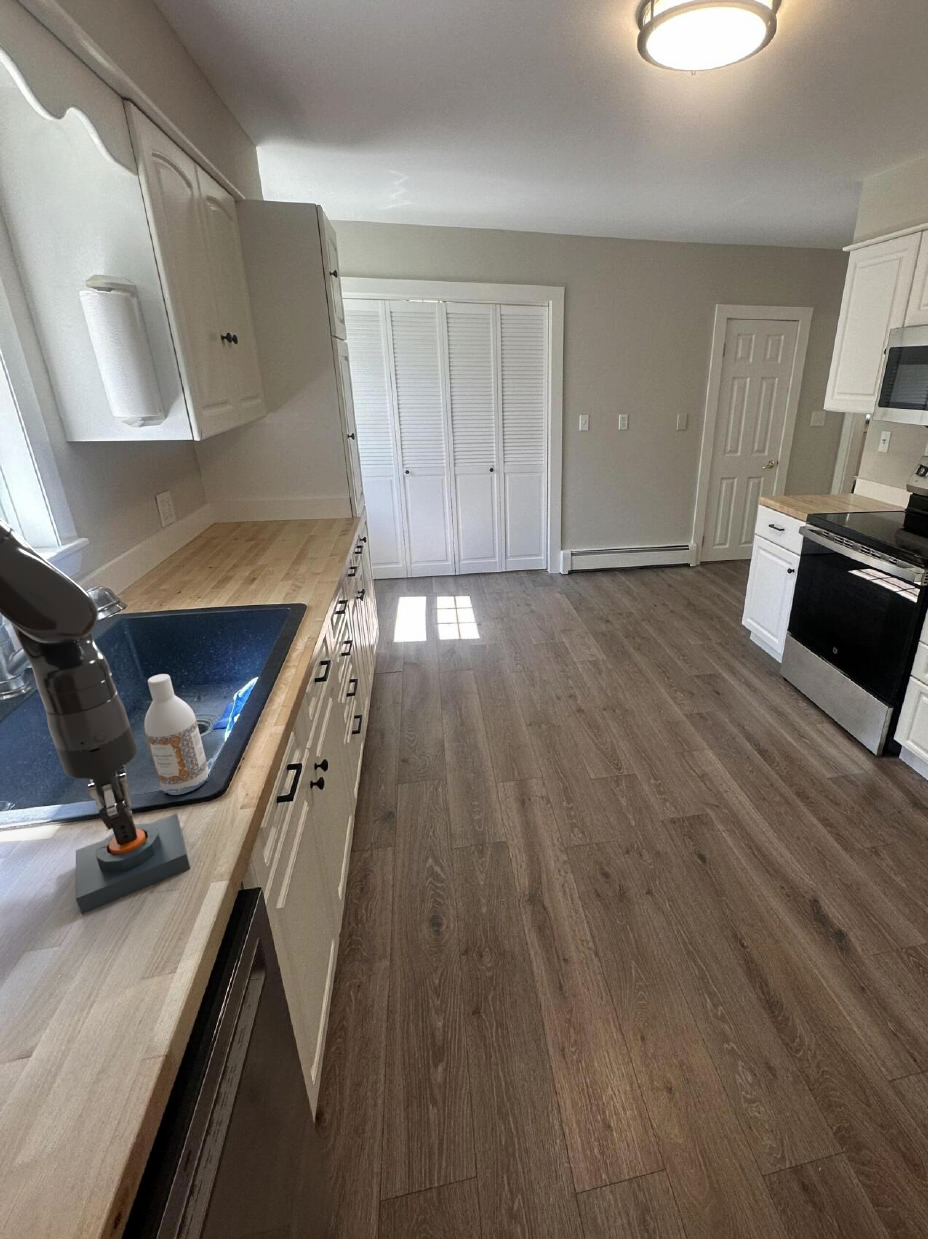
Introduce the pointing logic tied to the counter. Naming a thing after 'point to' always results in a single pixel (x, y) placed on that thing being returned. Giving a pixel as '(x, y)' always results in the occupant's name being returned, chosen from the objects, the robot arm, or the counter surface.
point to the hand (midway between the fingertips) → (127, 839)
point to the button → (127, 844)
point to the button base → (129, 864)
